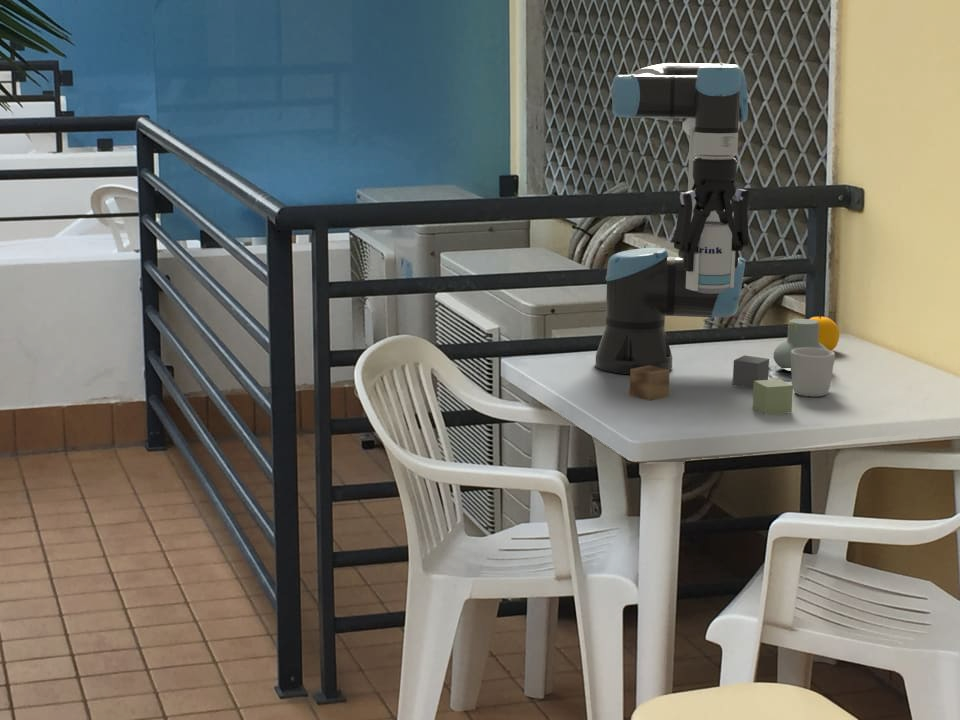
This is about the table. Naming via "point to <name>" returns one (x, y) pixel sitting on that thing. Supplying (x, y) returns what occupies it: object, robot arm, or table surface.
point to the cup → (811, 370)
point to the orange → (827, 332)
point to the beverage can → (714, 257)
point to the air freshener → (797, 340)
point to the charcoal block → (749, 371)
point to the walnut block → (649, 382)
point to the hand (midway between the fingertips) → (709, 287)
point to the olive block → (772, 396)
